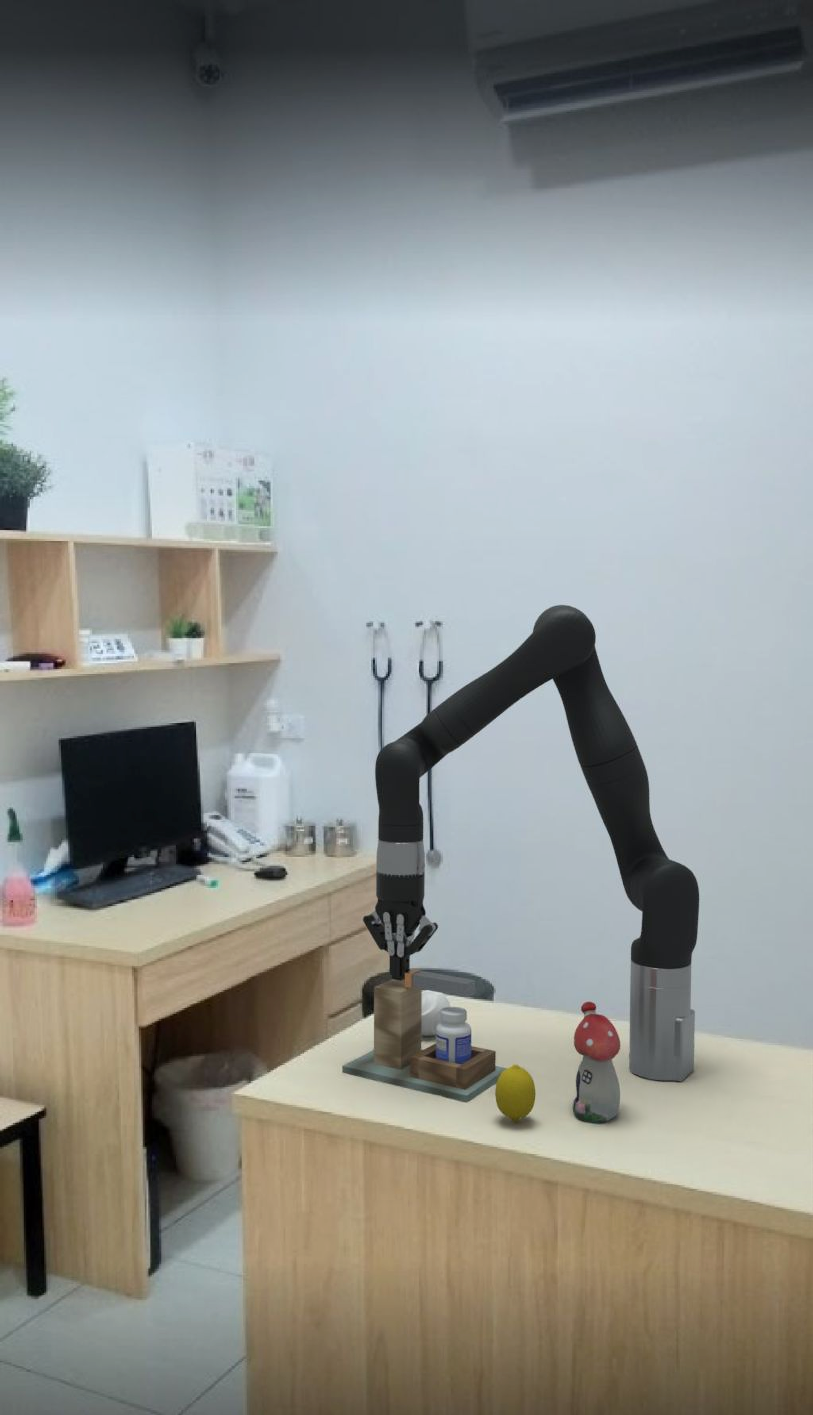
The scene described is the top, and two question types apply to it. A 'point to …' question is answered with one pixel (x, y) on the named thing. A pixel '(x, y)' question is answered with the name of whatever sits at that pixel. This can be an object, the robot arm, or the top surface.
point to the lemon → (515, 1093)
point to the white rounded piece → (432, 1011)
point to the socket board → (417, 1051)
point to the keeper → (439, 983)
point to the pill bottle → (453, 1036)
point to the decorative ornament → (596, 1067)
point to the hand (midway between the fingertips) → (399, 978)
